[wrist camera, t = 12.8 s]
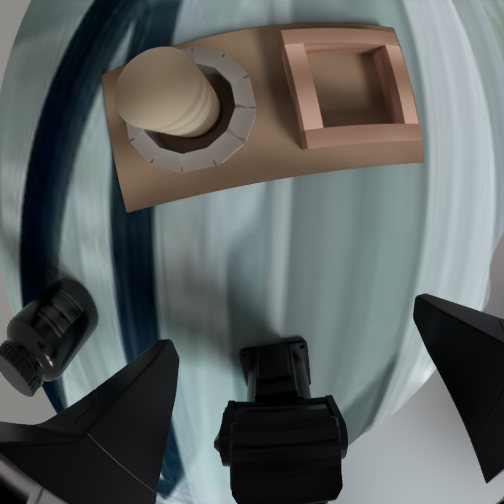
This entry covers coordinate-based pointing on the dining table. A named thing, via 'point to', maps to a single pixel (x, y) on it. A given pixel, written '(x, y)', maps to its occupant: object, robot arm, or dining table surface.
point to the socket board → (277, 112)
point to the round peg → (167, 94)
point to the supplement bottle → (47, 336)
